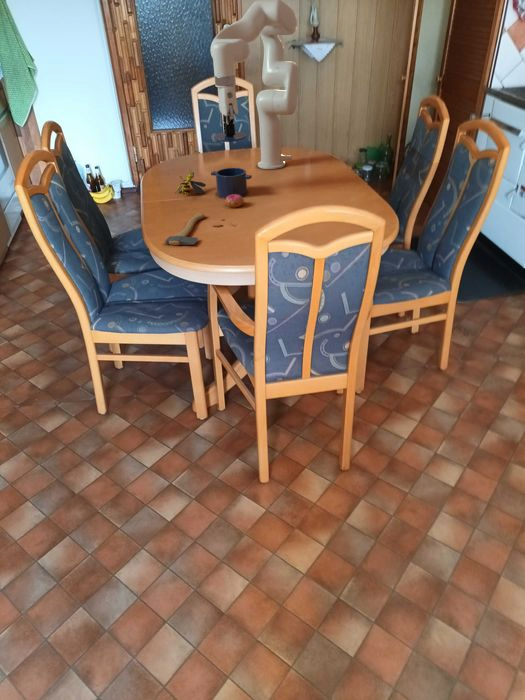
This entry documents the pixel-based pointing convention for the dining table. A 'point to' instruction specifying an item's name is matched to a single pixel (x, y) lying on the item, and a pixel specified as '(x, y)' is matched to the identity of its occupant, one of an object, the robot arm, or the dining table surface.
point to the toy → (187, 188)
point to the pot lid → (225, 138)
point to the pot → (231, 181)
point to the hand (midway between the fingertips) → (229, 133)
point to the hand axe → (185, 233)
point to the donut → (234, 200)
